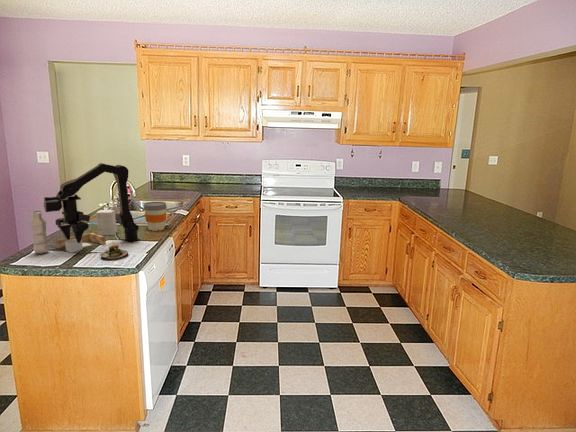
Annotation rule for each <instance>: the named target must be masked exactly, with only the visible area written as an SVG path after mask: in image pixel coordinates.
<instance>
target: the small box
mask: <svg viewBox="0 0 576 432" xmlns="http://www.w3.org/2000/svg"><path fill="white" fill-rule="evenodd" d="M95 215H96V216H95V217H96V226H97V234H98V235H101V236H114V235H115V234H116V233H117V232H118V231H117V220H116V219H117V218H116V211H115V209H99V210H97V211H96V213H95Z"/></svg>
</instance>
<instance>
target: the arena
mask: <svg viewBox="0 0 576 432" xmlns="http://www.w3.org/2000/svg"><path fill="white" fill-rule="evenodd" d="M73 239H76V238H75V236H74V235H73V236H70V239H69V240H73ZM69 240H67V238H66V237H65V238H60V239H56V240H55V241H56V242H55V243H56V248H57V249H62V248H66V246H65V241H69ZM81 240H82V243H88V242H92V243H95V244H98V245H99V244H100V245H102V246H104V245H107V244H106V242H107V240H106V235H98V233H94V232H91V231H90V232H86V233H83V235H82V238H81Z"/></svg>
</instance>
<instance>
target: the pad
mask: <svg viewBox="0 0 576 432" xmlns="http://www.w3.org/2000/svg"><path fill="white" fill-rule="evenodd" d="M82 246H83V248H86V247H90V246H92V243H88V242H83V243H82Z"/></svg>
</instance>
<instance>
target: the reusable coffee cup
mask: <svg viewBox="0 0 576 432" xmlns="http://www.w3.org/2000/svg"><path fill="white" fill-rule="evenodd" d="M143 210H144V218H145V222H146V223H147V224H146V225H147V230H148V231H151V230H152V232H154V231H155V232H157V231H158V230H159V231H163V230H165V226H166V220H167V203H166V202H164V201H151V202H150V201H148V202H144V203H143Z"/></svg>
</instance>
